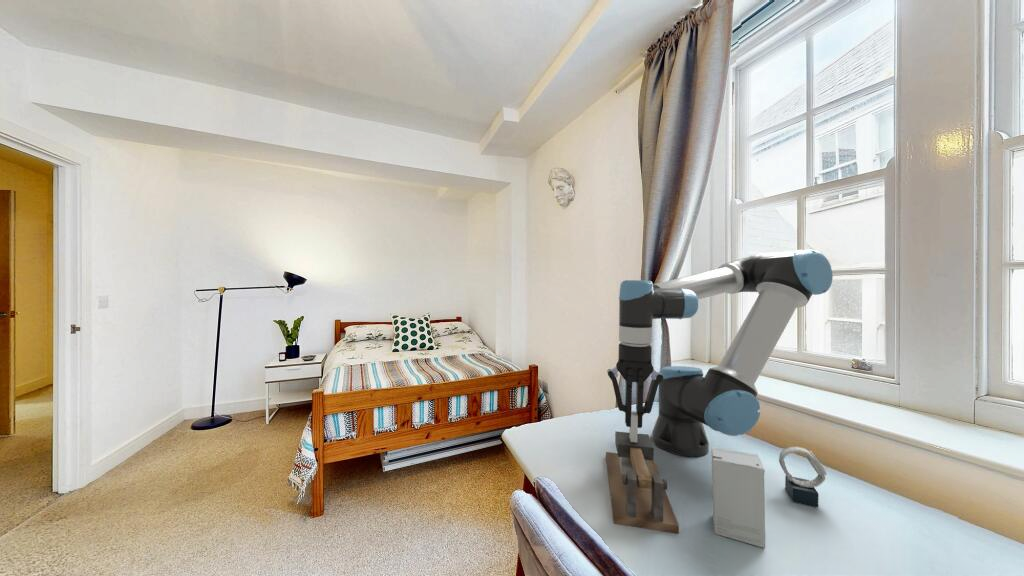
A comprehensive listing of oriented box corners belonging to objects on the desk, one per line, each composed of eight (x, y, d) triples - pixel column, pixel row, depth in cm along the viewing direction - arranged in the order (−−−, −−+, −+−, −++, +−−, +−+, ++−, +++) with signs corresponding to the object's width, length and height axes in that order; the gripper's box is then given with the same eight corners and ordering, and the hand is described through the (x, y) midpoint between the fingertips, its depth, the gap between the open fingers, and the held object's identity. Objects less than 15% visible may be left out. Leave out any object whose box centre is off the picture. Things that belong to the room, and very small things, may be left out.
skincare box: (760, 529, 65) (761, 454, 65) (766, 551, 60) (767, 469, 59) (710, 515, 69) (711, 444, 69) (711, 534, 64) (712, 457, 63)
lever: (648, 446, 85) (648, 434, 85) (666, 495, 65) (667, 480, 65) (615, 442, 86) (615, 431, 86) (623, 490, 67) (624, 475, 67)
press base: (652, 462, 89) (652, 429, 89) (678, 533, 64) (679, 487, 64) (605, 457, 92) (606, 424, 92) (613, 523, 66) (614, 478, 66)
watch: (830, 510, 70) (831, 459, 70) (782, 499, 74) (783, 450, 74) (819, 495, 76) (820, 447, 75) (775, 486, 79) (776, 440, 79)
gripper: (660, 342, 83) (658, 435, 83) (606, 339, 86) (604, 430, 86) (667, 347, 76) (665, 450, 76) (608, 344, 79) (606, 443, 79)
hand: (633, 439), depth 81 cm, fingers closed
